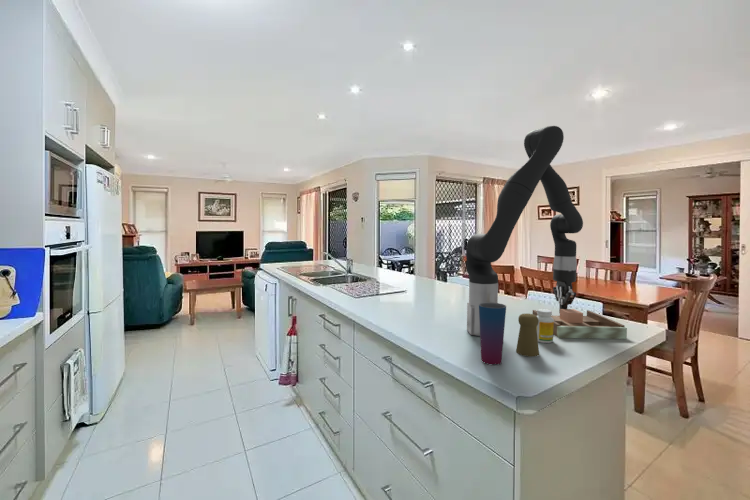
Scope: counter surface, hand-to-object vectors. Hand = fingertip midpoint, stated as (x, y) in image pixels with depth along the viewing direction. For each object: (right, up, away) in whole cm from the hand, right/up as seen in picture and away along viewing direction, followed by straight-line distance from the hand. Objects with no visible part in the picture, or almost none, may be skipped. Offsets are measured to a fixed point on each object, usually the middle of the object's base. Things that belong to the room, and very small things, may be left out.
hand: (563, 314), depth 128 cm
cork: (-27, -5, -31) cm, 42 cm away
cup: (-40, -6, -37) cm, 55 cm away
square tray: (0, -4, -8) cm, 9 cm away
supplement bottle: (-18, -5, -21) cm, 28 cm away
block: (0, -1, -5) cm, 5 cm away
